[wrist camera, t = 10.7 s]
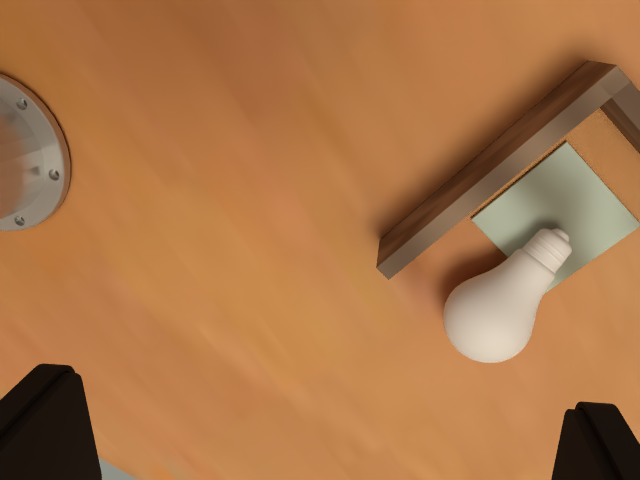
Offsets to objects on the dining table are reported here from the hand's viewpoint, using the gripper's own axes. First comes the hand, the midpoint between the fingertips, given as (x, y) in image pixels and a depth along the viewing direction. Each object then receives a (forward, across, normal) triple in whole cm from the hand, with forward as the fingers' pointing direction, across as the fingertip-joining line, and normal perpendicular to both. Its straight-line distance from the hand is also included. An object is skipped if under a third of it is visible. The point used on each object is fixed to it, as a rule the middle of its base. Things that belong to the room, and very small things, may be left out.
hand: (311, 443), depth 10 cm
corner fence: (+29, -13, +6) cm, 32 cm away
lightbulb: (+27, -14, +5) cm, 31 cm away
